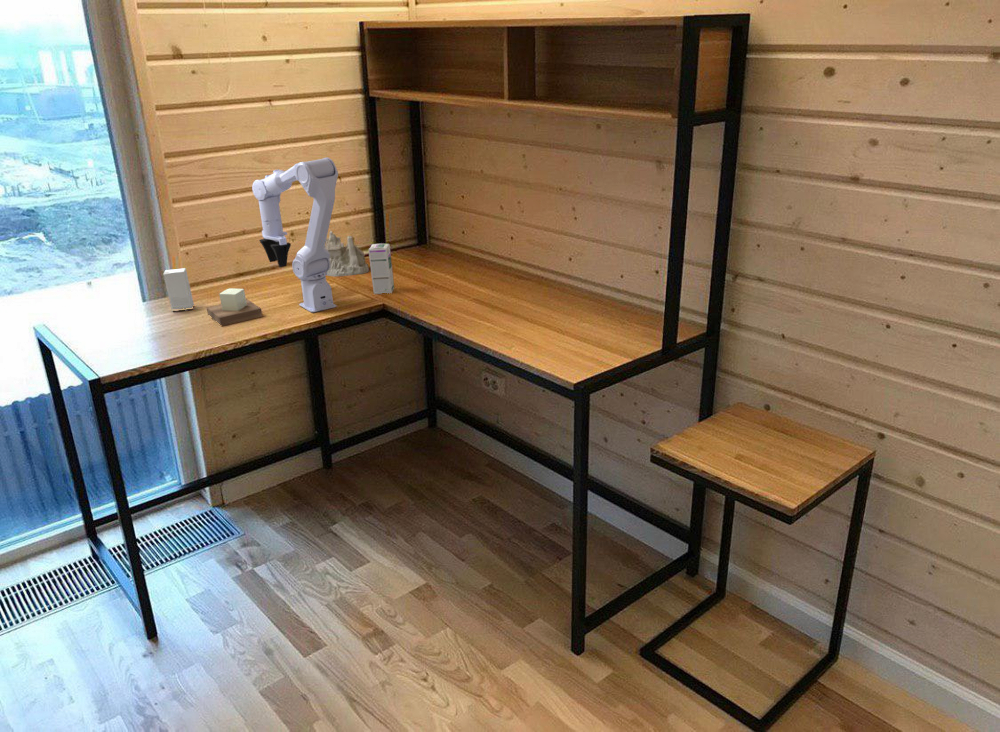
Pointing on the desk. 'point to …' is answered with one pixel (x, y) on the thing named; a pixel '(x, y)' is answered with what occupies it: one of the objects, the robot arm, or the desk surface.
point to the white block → (233, 299)
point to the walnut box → (234, 313)
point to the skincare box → (178, 288)
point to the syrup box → (381, 268)
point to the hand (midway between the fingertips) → (278, 263)
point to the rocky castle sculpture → (345, 257)
